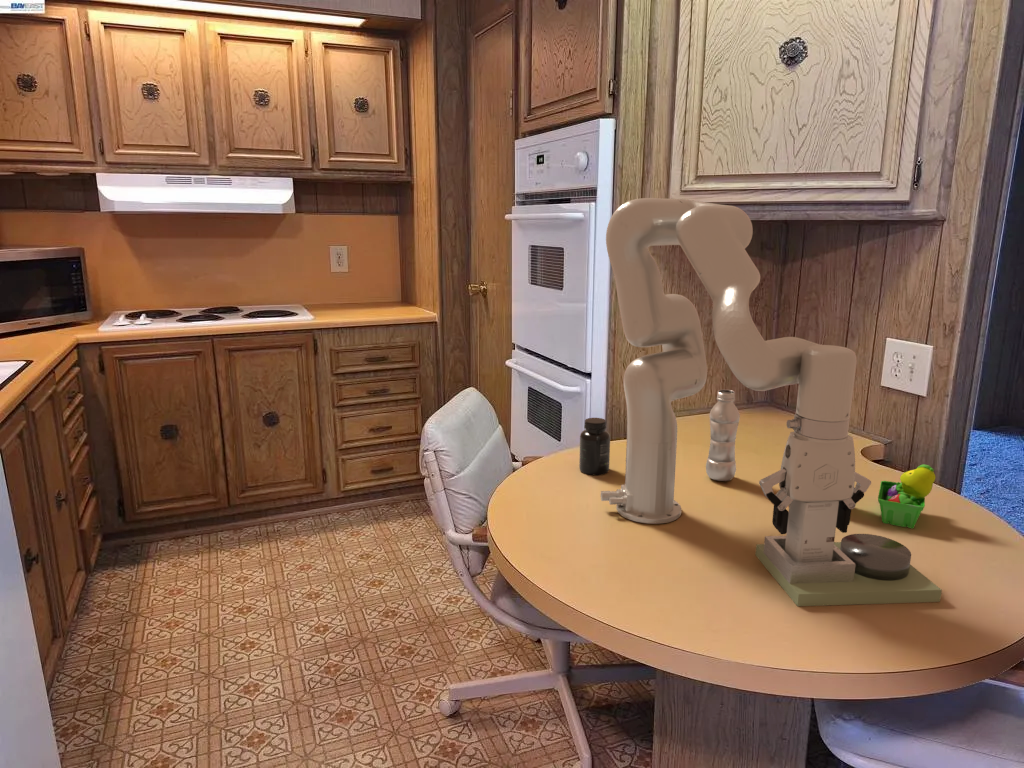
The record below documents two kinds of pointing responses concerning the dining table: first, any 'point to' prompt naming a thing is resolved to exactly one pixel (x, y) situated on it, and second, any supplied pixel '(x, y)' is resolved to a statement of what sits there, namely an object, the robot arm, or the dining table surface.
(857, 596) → the green plate
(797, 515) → the skincare box
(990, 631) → the dining table surface
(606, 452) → the supplement bottle
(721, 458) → the plastic bottle
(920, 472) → the fruit basket
